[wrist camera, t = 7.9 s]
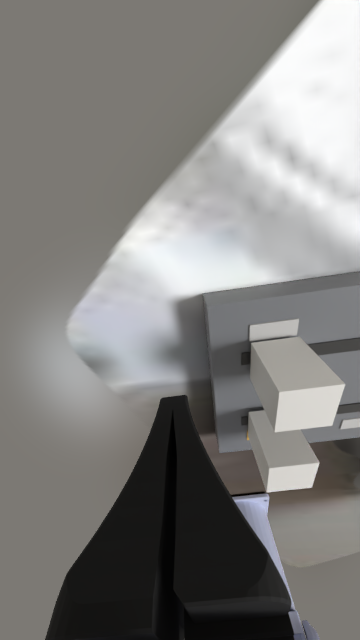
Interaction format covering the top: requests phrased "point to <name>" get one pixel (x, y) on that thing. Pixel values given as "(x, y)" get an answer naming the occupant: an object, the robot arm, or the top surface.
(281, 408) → the outer tab
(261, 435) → the inner tab
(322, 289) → the switch panel
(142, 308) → the top surface
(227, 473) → the top surface
